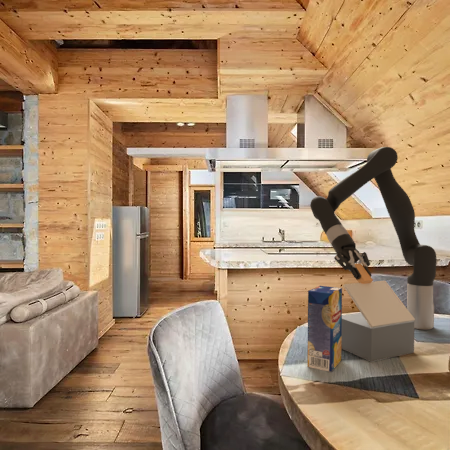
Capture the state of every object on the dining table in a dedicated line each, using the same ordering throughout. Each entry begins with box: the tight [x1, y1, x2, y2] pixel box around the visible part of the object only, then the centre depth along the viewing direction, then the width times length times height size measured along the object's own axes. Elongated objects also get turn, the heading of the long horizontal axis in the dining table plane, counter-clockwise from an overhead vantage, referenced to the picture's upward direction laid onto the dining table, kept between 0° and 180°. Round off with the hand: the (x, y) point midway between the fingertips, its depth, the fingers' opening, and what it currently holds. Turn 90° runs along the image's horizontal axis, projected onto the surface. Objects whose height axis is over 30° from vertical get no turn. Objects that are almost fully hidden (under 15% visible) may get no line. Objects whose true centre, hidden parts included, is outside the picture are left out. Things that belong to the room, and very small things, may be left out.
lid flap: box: [342, 263, 415, 328], centre depth 120 cm, size 19×23×2 cm
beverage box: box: [306, 285, 343, 373], centre depth 107 cm, size 7×11×22 cm, turn 147°
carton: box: [341, 312, 415, 363], centre depth 120 cm, size 19×16×10 cm
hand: (364, 277), depth 123 cm, fingers closed on lid flap, 4 cm apart
